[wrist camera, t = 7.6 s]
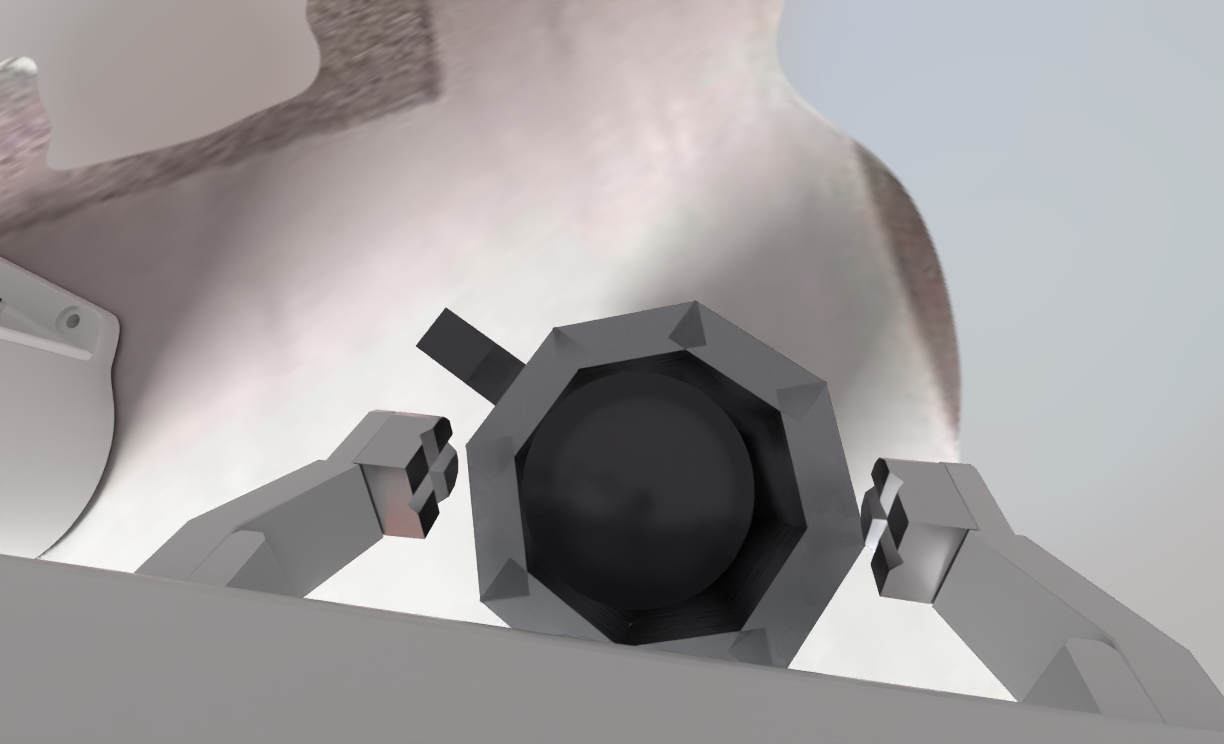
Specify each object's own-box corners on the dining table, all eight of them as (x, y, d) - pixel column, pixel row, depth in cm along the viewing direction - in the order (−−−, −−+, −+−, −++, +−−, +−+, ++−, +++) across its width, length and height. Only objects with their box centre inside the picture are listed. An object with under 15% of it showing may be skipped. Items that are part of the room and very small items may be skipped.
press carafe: (486, 476, 28) (304, 455, 14) (593, 331, 29) (517, 185, 16) (692, 639, 25) (707, 803, 12) (803, 472, 26) (934, 445, 13)
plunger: (573, 508, 21) (391, 525, 8) (648, 403, 22) (597, 252, 8) (681, 591, 20) (683, 776, 7) (756, 478, 21) (897, 442, 7)
